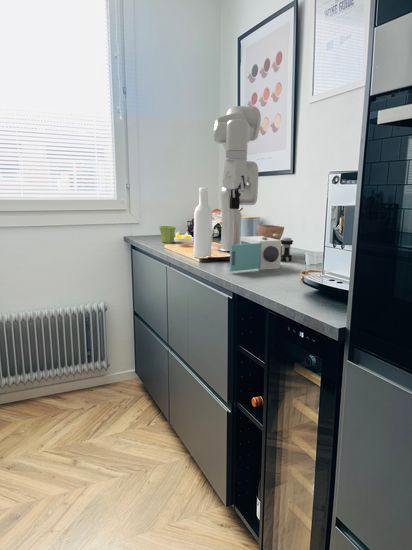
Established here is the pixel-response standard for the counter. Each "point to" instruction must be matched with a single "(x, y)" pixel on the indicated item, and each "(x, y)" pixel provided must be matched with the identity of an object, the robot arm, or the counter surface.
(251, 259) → the side door
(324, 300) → the counter surface
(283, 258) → the push button
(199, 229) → the bottle
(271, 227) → the ceramic jug
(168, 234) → the plant pot
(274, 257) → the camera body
